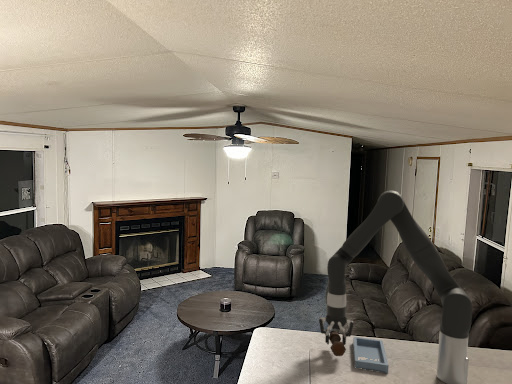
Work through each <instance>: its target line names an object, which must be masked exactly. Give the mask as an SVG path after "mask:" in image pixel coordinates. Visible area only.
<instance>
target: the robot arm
mask: <svg viewBox="0 0 512 384" xmlns="http://www.w3.org/2000/svg"><path fill="white" fill-rule="evenodd" d="M412 215H413V214H411V211H410V210H409V208H408V206H407V204H406V202H405V200H404V198H403V196H402V195H401V193H399V191H395V190H386V191H383V192H382V193H381V194H380V195H379V197H378V199H377V202H376V204H375V206H374V207H373V209H372V211H371V212H370V213H369V215H368V216H367V217H366V218H365V219H364V221H362V223H361V224H359V226H358V227H356V228H355V229H354V230H353V231H352V233H351V234H349V236H348V238H346V239H345V240H344V242H343V244H342V245H341V246H340V247H339V249H338V250H336V252H334V254H333V255H332V256H331V257H330V258H328V261H327V267H326V268H327V279H328V287H327V289H328V290H327V298H326V299H327V300H326V304H327V305H326V316H325V317H323V316H320V317H319V320H318V322H319V323H318V324H319V328H320V333H321V334H324V335H325V337H324V338H325V340H324V341H325V343H326V344H327V346H328V345H330V344H329V343H330V340H329V336H330V332H331V331H332V330H335V329H336V330H340V332H341V334H342V336H341V342H342V343H343V344H344V346H346V345H347V337H351V335H352V333H353V329H354V323H355V322H354V320H352V319H351V320H349V319H348V318H347V281H346V278H345V277H346V269H347V268H348V266H349V265H350V263H351V262H352V261H353V260H354V259H355V257H357V256H358V255H359V254H360V253H361V252H362V251H363V250H364V249H365V248H366V246H367V245H368V244H369V242H370V241H372V239H373V237H374V236H375V235H376V234H377V233H378V232H379V231H380V230H381V228H382V227H384V226H385V225H386V223H388V222H389V221H391V223H392V224H393V226H394V227H395V229H396V231H397V232H398V235H399V237H400V240H401V241H402V244H403V246H404V248H405V249H406V251H407V253H408V255H409V256H410V258H411V259H412V261H413V263H414V264H415V265H416V266H417V268H418V269H419V270H420V271H421V272H422V273H423V274H424V276H426V278H427V279H428V280H429V281H430V282H431V285H432V286H433V287H434V289H435V291H436V293H437V295H438V298H439V300H440V302H441V305H442V314H441V315H442V316H441V321H440V324H439V334H438V336H439V337H438V348H437V349H438V352H437V364H436V365H437V366H436V377H437V379H438V380H439V381H441V382H443V383H444V384H468V378H469V377H468V376H469V364H470V363H469V361H470V359H469V358H468V348H469V347H468V346H469V345H468V344H469V335H470V333H469V332H470V331H471V327H472V326H471V325H472V318H473V303H472V300H471V299H470V297H469V295H468V294H467V293H466V292H465V290H464V289H463V288H462V287H461V286H460V285H459V284H458V282H457V281H456V280H455V278H454V277H453V276H452V275H451V273H450V272H449V269H448V268H447V266H446V264H445V262H444V259H443V257H442V255H441V254H440V252H439V250H438V249H437V248H436V246H435V244H434V243H433V242H432V240H431V239H430V237H429V236H428V234H427V233H426V232H425V231H424V230H423V228H422V227H421V225H419V224H418V222H417V221H416V220H415V218H414V217H413V216H412ZM325 321H326V322H325ZM325 323H327V325H328V326H327V328H326V329H325V326H324V324H325ZM346 324H347V326H348V328H347V331H345V330H346V329H345V325H346Z"/></svg>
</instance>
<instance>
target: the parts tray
mask: <svg viewBox="0 0 512 384" xmlns="http://www.w3.org/2000/svg"><path fill="white" fill-rule="evenodd" d="M352 338H353V339H352V342H353V343H352V348H353V361H355V363H354V368H355V367H356V368H362V369H361V370H363V369H366V370H365V371H369V370H373V371H372V372H376V371H379V372H378V373H385V374H389V368H390V367H389V361H388V358H387V352H386V349H385V345H384V340H382V339H374V338H373V339H372V338H368V337H358V336H353V337H352ZM358 357H365V358H368V359H366V360H361V359H360V360H358ZM370 359H373V360H370ZM375 359H377V361H374V360H375ZM378 359H379V361H378ZM356 368H355V369H356Z"/></svg>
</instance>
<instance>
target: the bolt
mask: <svg viewBox="0 0 512 384" xmlns="http://www.w3.org/2000/svg"><path fill="white" fill-rule="evenodd" d="M329 343H331V345H330V351H331V352H332V354H333V355H334V357H342V356H344V354H345V353H346V351H347V348H346V345H344V344H343V343H342V336H341V335H340V333H339V332H337V331H335V330H331V331H330V333H329Z"/></svg>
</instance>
